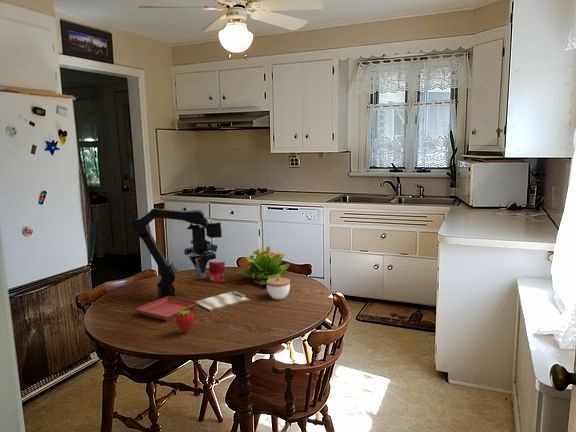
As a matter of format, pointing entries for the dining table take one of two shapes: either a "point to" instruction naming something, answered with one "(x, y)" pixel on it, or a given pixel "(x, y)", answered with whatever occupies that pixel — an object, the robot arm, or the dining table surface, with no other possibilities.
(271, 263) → the potted flower
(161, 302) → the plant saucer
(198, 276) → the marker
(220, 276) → the canned food
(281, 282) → the lidded jar
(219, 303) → the clipboard
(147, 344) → the dining table surface
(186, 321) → the strawberry
